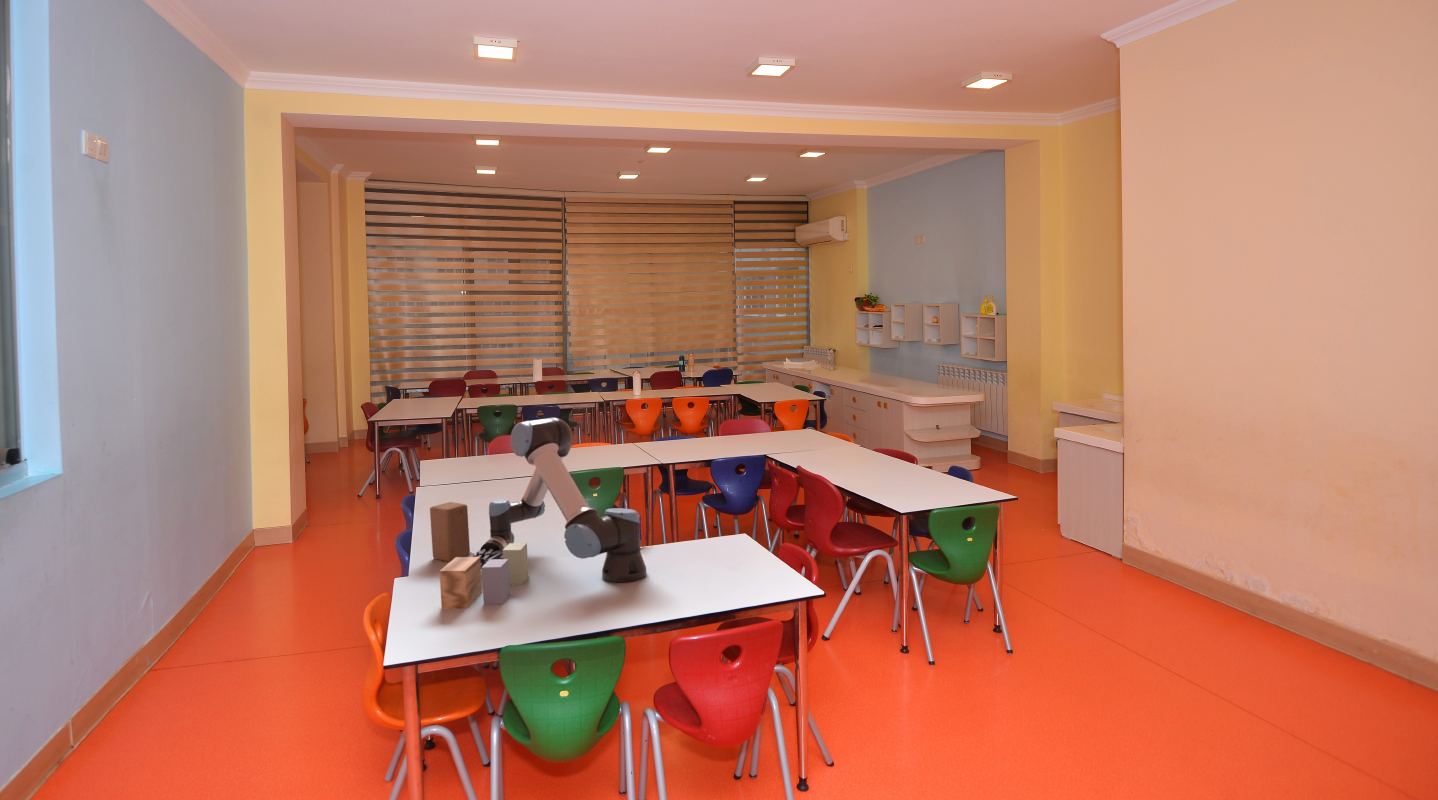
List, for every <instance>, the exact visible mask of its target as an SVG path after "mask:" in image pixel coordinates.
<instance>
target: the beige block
mask: <svg viewBox="0 0 1438 800" xmlns="http://www.w3.org/2000/svg"><path fill="white" fill-rule="evenodd" d="M503 559H508V564H509V584H514V585H513V586H523V585H524V584H525V582H526V581H527V580H528V579H529V576H530V575H529V559H528V543H527V542H518V543H517V542H514V543H509V544H508V545H507V546H506V547H505V548H504V549H503ZM526 579H527V580H526ZM525 580H526V581H525ZM518 584H519V585H518ZM522 584H523V585H522Z"/></svg>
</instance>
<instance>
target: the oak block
mask: <svg viewBox="0 0 1438 800" xmlns="http://www.w3.org/2000/svg"><path fill="white" fill-rule="evenodd" d="M438 572H439V585H440V586H439V587H440V602H441V604H440V605H441V609H443V610H444V609H445V610H447V609H468V608H469V607H470V606H471V605H473V603H474V602H475V601H476V600H477V599H478V598H479V596H480V595H482V594H483V585H482V569H481V562H480V557H469V556H466V557H456V558H454V559H453V560H452V561H451V562H448V563H447V564H446V565H445V566H443V568H441V569H440V570H439V571H438Z"/></svg>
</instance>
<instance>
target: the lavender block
mask: <svg viewBox="0 0 1438 800" xmlns="http://www.w3.org/2000/svg"><path fill="white" fill-rule="evenodd" d="M481 580H482V598H483V600H482V601H483V605H485V606H487V605H489V606H491V605H492V606H493V605H496V606H497V605H504V604H505V603H506V601H507V600H508V599H509V598H510V596H511V589H510V588H511V587H510V586H511V585H510V584H509V564H508V559H490V560H489V561H488V562H487V563H486V564H484V565H483V566H482V569H481Z"/></svg>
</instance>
